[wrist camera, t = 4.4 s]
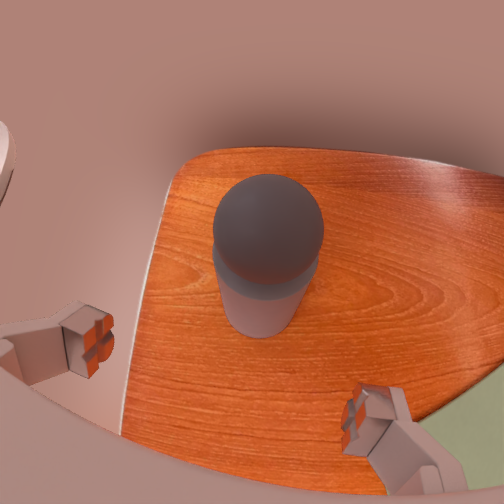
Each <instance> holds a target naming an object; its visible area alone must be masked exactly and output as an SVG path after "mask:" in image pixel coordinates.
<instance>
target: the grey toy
mask: <svg viewBox="0 0 504 504" xmlns="http://www.w3.org/2000/svg"><path fill="white" fill-rule="evenodd" d="M213 235H214V244H213V261H214V266H215V270H216V275H217V280H218V284H219V288H220V293H221V297H222V302H223V306H224V310H225V314H226V317H227V319H228V321H229V322H230V324H231V325H232V326H233V327H234V328H235V329H236V330H237V331H238V332H240V333H242V334H243V335H246V336H248V337H252V338H267V337H271V336H274V335H276V334H278V333H280V332H281V331H282V330H284V329H285V328H286V327H287V325H288V324H289V323H290V321H291V319H292V317H293V315H294V314H295V312H296V310H297V308H298V306H299V304H300V302H301V300H302V298H303V296H304V294H305V292H306V290H307V288H308V286H309V284H310V282H311V280H312V278H313V276H314V273H315V271H316V268H317V264H318V257H319V251H320V248H321V245H322V241H323V235H324V224H323V218H322V214H321V210H320V208H319V206H318V204H317V202H316V200H315V199H314V197H313V196H312V195H311V193H310V192H309V191H308V190H307V189H306V188H305V187H303V186H302V185H301V184H299V183H298V182H296V181H294V180H292V179H290V178H288V177H285V176H281V175H275V174H261V175H256V176H252V177H249V178H247V179H245V180H243V181H241V182H239V183H237V184H236V185H235V186H233V187H232V188H231V189H230V190H229V191H228V192H227V193H226V195H225V196H224V197H223V198H222V200H221V202H220V204H219V206H218V208H217V210H216V213H215V217H214V223H213Z"/></svg>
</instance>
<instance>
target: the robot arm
mask: <svg viewBox="0 0 504 504" xmlns="http://www.w3.org/2000/svg"><path fill="white" fill-rule="evenodd" d="M113 326H114V324H113V316H112V315H111V314H109V313H106V312H104V311H102V310H99V309H97V308H94V307H92V306H89V305H87V304H85V303H82V302H80V301H72V302H71V303H70V304H68V305H67V306H65V307H64V308H62V309H61V310H60V311H58V312H57V313H55V314H54V315H52V316H51V317H50V318H48V319H46V318H39V319H32V320H27V321H20V322H13V323H7V324H0V504H504V484H502V485H497V486H492V487H487V488H481V489H474V490H469V489H468V485H467V482H466V478H465V475H464V472H463V469H462V465H461V463H460V462H459V461H458V460H457V459H455V458H454V457H453V456H452V455H451V454H450V453H449V452H448V451H447V450H446V449H445V448H444V447H443V446H441V445H440V444H439V443H438V442H437V441H436V440H435V439H434V438H433V437H432V436H431V435H430V434H429V433H427V432H426V431H425V430H424V429H423V428H422V427H421V426H420V425H419V424H418V423H417V422H412V418H411V415H410V411H409V408H408V405H407V401H406V398H405V395H404V391H403V389H402V388H398V387H389V386H387V387H385V386H378V385H372V384H365V383H359V382H358V384H357V385H356V386H355V388H354V390H353V398H352V399H351V400H349V401H347V403H346V405H345V407H344V410H343V413H342V417H341V429H342V430H343V431H344V432H345V433H344V435H343V437H342V438H341V439H342V454H346V455H353V456H361V457H367V460H368V461H369V463H370V464H371V466H372V467H373V469H374V470H375V472H376V473H377V475H378V476H379V478H380V479H381V481H382V482H383V484H384V485H385V487H386V488H387V490H388V491H389V493H390V494H391V495H358V494H343V493H332V492H323V491H314V490H306V489H299V488H293V487H287V486H281V485H276V484H270V483H265V482H260V481H256V480H251V479H247V478H242V477H238V476H234V475H230V474H227V473H223V472H219V471H216V470H212V469H209V468H205V467H202V466H199V465H195V464H192V463H189V462H186V461H183V460H180V459H177V458H174V457H172V456H169V455H166V454H163V453H161V452H158V451H155V450H153V449H150V448H148V447H145V446H143V445H140V444H138V443H135V442H133V441H131V440H128V439H126V438H124V437H122V436H119V435H117V434H115V433H113V432H111V431H109V430H106V429H104V428H102V427H100V426H98V425H96V424H94V423H92V422H90V421H88V420H86V419H84V418H83V417H81V416H79V415H77V414H75V413H73V412H71V411H70V410H68V409H66V408H64V407H62V406H61V405H59V404H57V403H55V402H54V401H52V400H50V399H49V398H47V397H46V396H44V395H42V394H41V393H39V392H37V391H36V390H34V389H33V388H31V387H30V385H33V384H35V383H38V382H41V381H43V380H46V379H49V378H51V377H54V376H57V375H59V374H62V373H65V372H68V371H69V370H70V371H72V372H74V373H76V374H78V375H80V376H83V377H85V378H87V379H89V378H90V377H91V376H92V375H93V374H94V373H95V372H96V371H97V370H98V368H99V365H98V363H100V362H104V361H106V360H107V359H108V358H109V356H110V355H111V353H112V350H113V347H114V335H113V334H112V332H111V330H110V329H111V328H112V327H113Z"/></svg>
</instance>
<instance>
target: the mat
mask: <svg viewBox="0 0 504 504" xmlns="http://www.w3.org/2000/svg"><path fill="white" fill-rule="evenodd" d="M417 423H418V424H419V425H420V426H421V427H422V428H423V429H424V430H425V431H426V432H427V433H429V434H430V435H431V436H432V437H433V438H434V439H435V440H436V441H437V442H438V443H439V444H440V445H441V446H443V447H444V448H445V449H446V450H447V451H448V452H449V453H450V454H451V455H452V456H453V457H454V458H455V459H457V460H458V461H459V462H460V463H461V465H462V469H463V472H464V475H465V478H466V482H467V485H468V489H469V490H474V489H481V488H487V487H492V486H497V485H502V484H504V363H502V364H501V365H500V366H499V367H497V368H496V369H495V370H494V371H492V372H491V373H490V374H489V375H487V376H486V377H485V378H483V379H482V380H481V381H479V382H478V383H477V384H475V385H474V386H473V387H471V388H470V389H468V390H467V391H466V392H464V393H463V394H461V395H460V396H458V397H457V398H455V399H454V400H452V401H451V402H449V403H448V404H446V405H445V406H443V407H442V408H440V409H438V410H437V411H435V412H434V413H432V414H430V415H429V416H427V417H425V418H424V419H422V420H420V421H419V422H417ZM385 488H386V487H385ZM386 491H387V494H388V495H391V494H390V493H389V491H388V490H387V488H386Z"/></svg>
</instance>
